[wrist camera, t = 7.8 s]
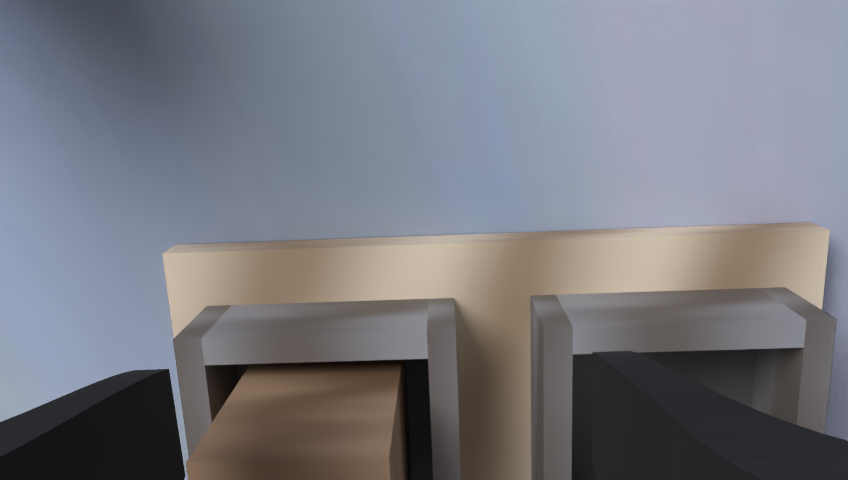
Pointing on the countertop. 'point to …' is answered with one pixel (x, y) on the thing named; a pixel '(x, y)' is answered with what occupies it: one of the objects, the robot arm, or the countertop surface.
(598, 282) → the socket board
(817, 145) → the countertop surface
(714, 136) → the countertop surface
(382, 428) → the walnut plug
